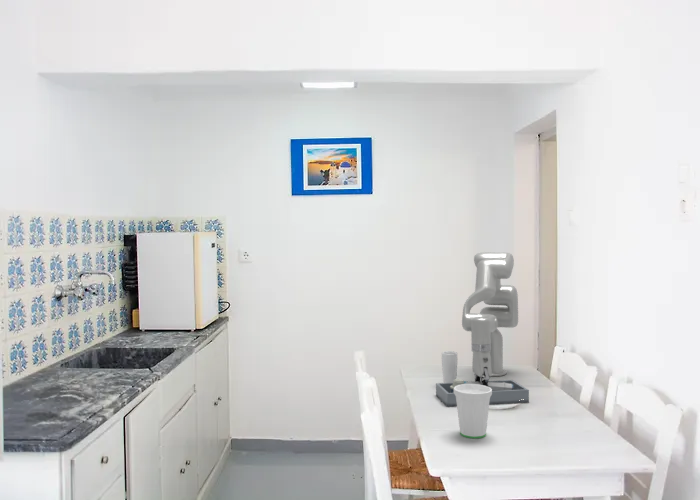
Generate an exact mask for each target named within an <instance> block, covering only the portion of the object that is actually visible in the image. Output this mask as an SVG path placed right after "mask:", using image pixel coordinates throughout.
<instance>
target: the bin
mask: <svg viewBox="0 0 700 500" xmlns="http://www.w3.org/2000/svg"><path fill="white" fill-rule="evenodd" d="M488 382H496V383H503V382H505V383H509V384H513V386H514V390H502V391H492V395H491V397H490V401H489V406H490V405H491V406H492V405H507V404H511V405H512V404H526V403H527V404H529V402H530V390H529V389H528V388H527V387H525V386H523V385H522V384H520V383H518V382H516V381H515V380H513V379H502V380H489V381H488ZM452 385H453V383H444V382H441V383H439V382H437V383H435V396H436V397H437V398H438V399H439V400H440V401H441V402H442V403H443V404H444V405H445V406H446V407H451V408H452V407H457V402H456V396H455V394H454V393H451V388H450V386H452ZM521 399H524V400H521ZM519 400H520V401H519Z"/></svg>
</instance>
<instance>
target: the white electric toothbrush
mask: <svg viewBox="0 0 700 500" xmlns="http://www.w3.org/2000/svg"><path fill="white" fill-rule="evenodd" d="M462 384H479V385H481V382H477V381H475V380H473V381H472V380H471V381H470V380H463V379H459V378H456V379H455V380H454V381H453V385H452V386H450V388H451V393H454V387H455V386H458V385H462ZM488 387H490V388H491V389H492V391H502V390H514V386H513V384H509V383H505V382H503V383H496V382H488Z"/></svg>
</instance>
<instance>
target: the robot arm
mask: <svg viewBox="0 0 700 500" xmlns="http://www.w3.org/2000/svg"><path fill="white" fill-rule="evenodd" d="M473 262H474V265H475V267H476V274H475V275H476V276H475V286H474V287H475V288H474V289H475V290H474V292H472V293H471V294H470V295H469V296H468V297H467V298H466V300H465V302H464V304H463V306H462V307H463V308H462V316H461V325H462V329H463V330H464V331H466V332H470V333H471V334H470V335H471V339H470V341H471V352H472V362H471V363H472V364H471V365H472V373H473V375H474V381H477V382H481V385H484V386H487V387H488V381H490V378H491V377H502V376H506V374H507V370H505V369H504V357H503V355H504V352H503V349H504V348H503V346H504V345H503V343H504V342H503V334H502V333H501V331H500V330H499V329H498V328H507V329H512V328H516V327H517V326H518V323H519V298H518V297H519V295H518V291H517V288H516V286H514V285H512V284H511V285H508V284H502V283H501V280H506V279H509V278H510V277H511V276H512V272H513V269H514V266H515V265H514V264H515V263H514V256H513V255H512V253H510V252H478V253H476V254H474V256H473ZM482 302H483V303H484V304H485V305H489V306H485V307H483V308H482V309H481V310H480V312H479V313H471V310H472V308H473V307H474V306H476V305H478V304H479V303H482Z"/></svg>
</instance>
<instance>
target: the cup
mask: <svg viewBox="0 0 700 500" xmlns="http://www.w3.org/2000/svg"><path fill="white" fill-rule="evenodd" d="M454 394H455V396H456V402H457V406H456V409H457V417H458V426H459V427H458V428H459V434H460V435H461V436H462V437H464V438H467V439H482V438H484V437H486V436H487V429H488V428H487V427H488V418H489V409H490V405H489V401H490V397H491V395H492V389H491V388H490V387H487V386H484V385H479V384H462V385H458V386H455V387H454Z"/></svg>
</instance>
